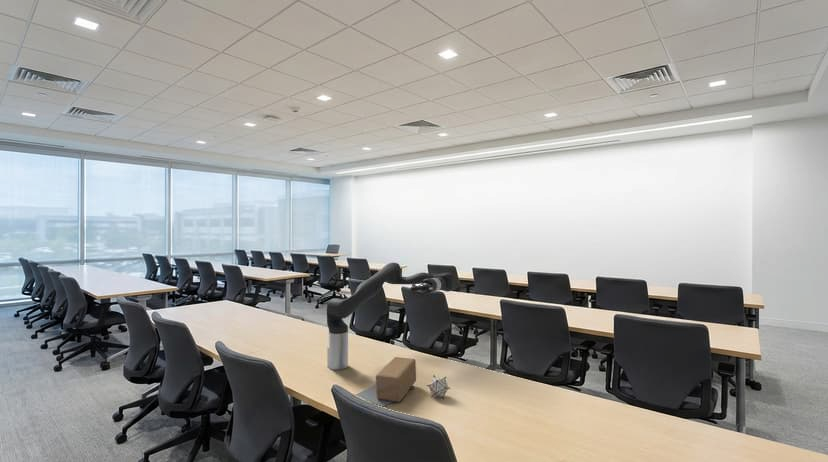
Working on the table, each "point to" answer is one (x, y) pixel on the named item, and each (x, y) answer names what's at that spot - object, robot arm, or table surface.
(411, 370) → the wooden block
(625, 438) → the table surface
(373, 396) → the mat
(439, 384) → the grey spiky star polyhedron
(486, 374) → the table surface
